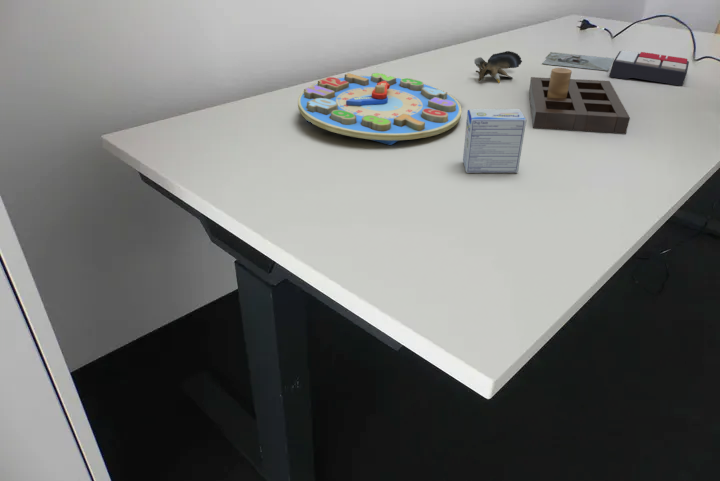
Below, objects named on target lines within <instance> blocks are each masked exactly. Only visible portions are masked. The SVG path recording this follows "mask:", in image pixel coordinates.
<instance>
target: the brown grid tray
mask: <svg viewBox="0 0 720 481" xmlns="http://www.w3.org/2000/svg"><path fill="white" fill-rule="evenodd" d="M549 82H550V77H536V76H531V77H530V81H529V86H528V93H529V94H528V96H529V104H530V112H531V122H532V129H544V130H559V131H576V132H588V133H589V132H591V133H593V132H594V133H606V134H608V133H609V134H620V135H621V134H622V135H626V134H627V130H628V127H629V123H630V120H631V117H630V115H629V112H627V109H626V108H625V106H624V104H623V103H622V100H621V98H620V97H619V95H618V94H617V92H616V90H615V88H614V86H613V85H612V83H611V81H610V80H598V79H578V78H577V79H576V78H570V83H569V88H568V93H567V98H566V99H565V98H547V94H548V88H549Z"/></svg>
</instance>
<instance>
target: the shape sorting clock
mask: <svg viewBox="0 0 720 481" xmlns="http://www.w3.org/2000/svg"><path fill="white" fill-rule="evenodd" d="M297 109H298V111H299V113H300V114H301V116H302V117H303V118H304V119H305V120H306V122H307V121H308V122H311V123H312V124H311V123H310V124H311V125H314V126H316V127H318V128H321V129H323V130H325V131H328V132H331V133H336V134H338V135H342V136H347V137H351V138H358V139H365V140H370V141H373V142H377V143H380V144H385V145H389V146H392V145H394V144H395V143H398V142H400V141H408V140H417V139H418V140H419V139H424V138H425V139H426V138H430V137H434V136H438V135H439V134H443V133H445V132H447V131H449V130H451V129H453V128H454V127H455V126H457V124H458V123H459V122H460V120H461V117H462V112H463V109H462V105H461V103H460V102H459V101H458V99H457V98H455V97H454V96H453V95H452V94H450V93H448V92H447V91H445V90H443V89H441V88H439V87H436V86H434V85H431V84H427V83H424V82H423V81H421V80H417V79H414V78H411V77H410V78H409V77H396V76H392V75H389V76H387V75H386V74H385V73H380V72H373V73H372V74H370V75H357V74H354V73H351V72H347V73H345V74H344V76H340V77H333V76H327V77H324V78H321V79H318V80H317V82H316V83H313V84H311V85H310V86H308V87H306V88H304V89H303V91H302V92H301V93H300V94H299V95H298V98H297ZM308 122H307V123H308Z"/></svg>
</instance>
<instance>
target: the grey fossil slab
mask: <svg viewBox="0 0 720 481" xmlns="http://www.w3.org/2000/svg"><path fill="white" fill-rule="evenodd" d="M614 59H615V57H607V56H606V57H604V56H594V55H586V54H585V55H583V54H575V53H574V54H573V53H564V52H553V51H550V52H549V53H548V55H547V56H546V57H545V60H544V61H543V62H542V65H550V66H558V67H567V68H578V69H579V68H580V69H588V70H597V71H607V72H608V71H609V69H611V67H612V64H613V61H614Z"/></svg>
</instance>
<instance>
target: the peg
mask: <svg viewBox="0 0 720 481" xmlns="http://www.w3.org/2000/svg"><path fill="white" fill-rule="evenodd" d="M572 72H573V71H572V70H571V69H569V68H566V67H555V68H552V69H551V71H550V77H549V78H550V82H549V88H548V94H547V98H565V99H566V98H567V93H568V88H569V83H570V79H572V78H571V77H572Z"/></svg>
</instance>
